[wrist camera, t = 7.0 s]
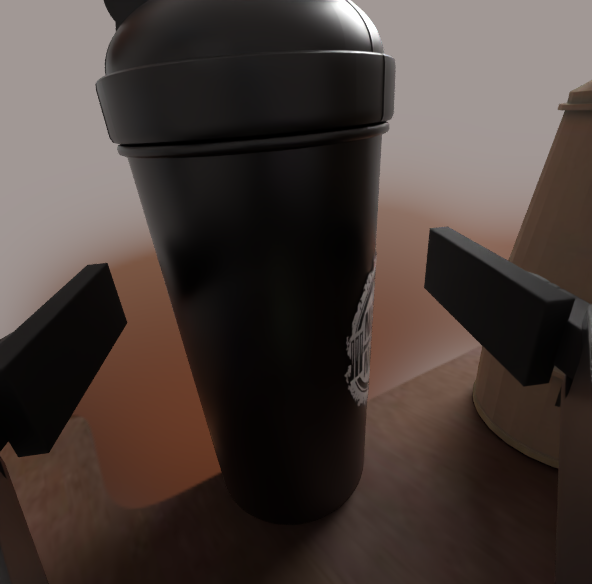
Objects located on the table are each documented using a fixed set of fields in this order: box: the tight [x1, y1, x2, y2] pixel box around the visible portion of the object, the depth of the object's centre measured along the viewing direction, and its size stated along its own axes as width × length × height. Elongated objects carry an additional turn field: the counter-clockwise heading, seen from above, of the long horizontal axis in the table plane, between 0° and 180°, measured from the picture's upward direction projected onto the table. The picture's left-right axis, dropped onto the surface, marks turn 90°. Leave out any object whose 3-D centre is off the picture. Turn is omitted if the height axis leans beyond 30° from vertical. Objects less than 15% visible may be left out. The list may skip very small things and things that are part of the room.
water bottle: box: [96, 0, 395, 524], centre depth 17 cm, size 10×10×23 cm
